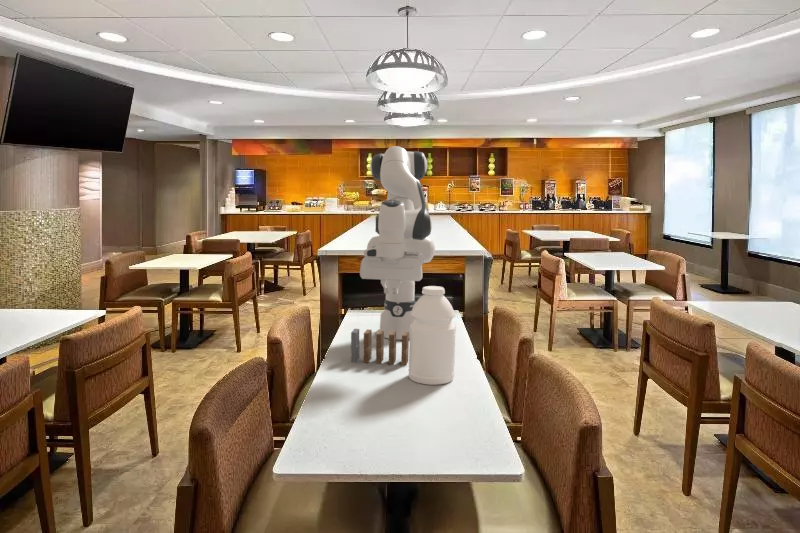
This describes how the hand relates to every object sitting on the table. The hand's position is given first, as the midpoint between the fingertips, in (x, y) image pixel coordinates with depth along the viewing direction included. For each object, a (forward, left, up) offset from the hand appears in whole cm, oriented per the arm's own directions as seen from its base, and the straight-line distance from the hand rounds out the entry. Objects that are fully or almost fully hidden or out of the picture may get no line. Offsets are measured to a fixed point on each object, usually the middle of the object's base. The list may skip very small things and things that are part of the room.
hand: (390, 293), depth 190 cm
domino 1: (0, -8, -23) cm, 24 cm away
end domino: (0, -12, -23) cm, 26 cm away
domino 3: (0, +1, -23) cm, 23 cm away
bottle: (+13, +15, -23) cm, 31 cm away
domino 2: (0, -3, -23) cm, 23 cm away
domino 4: (0, +5, -23) cm, 24 cm away
